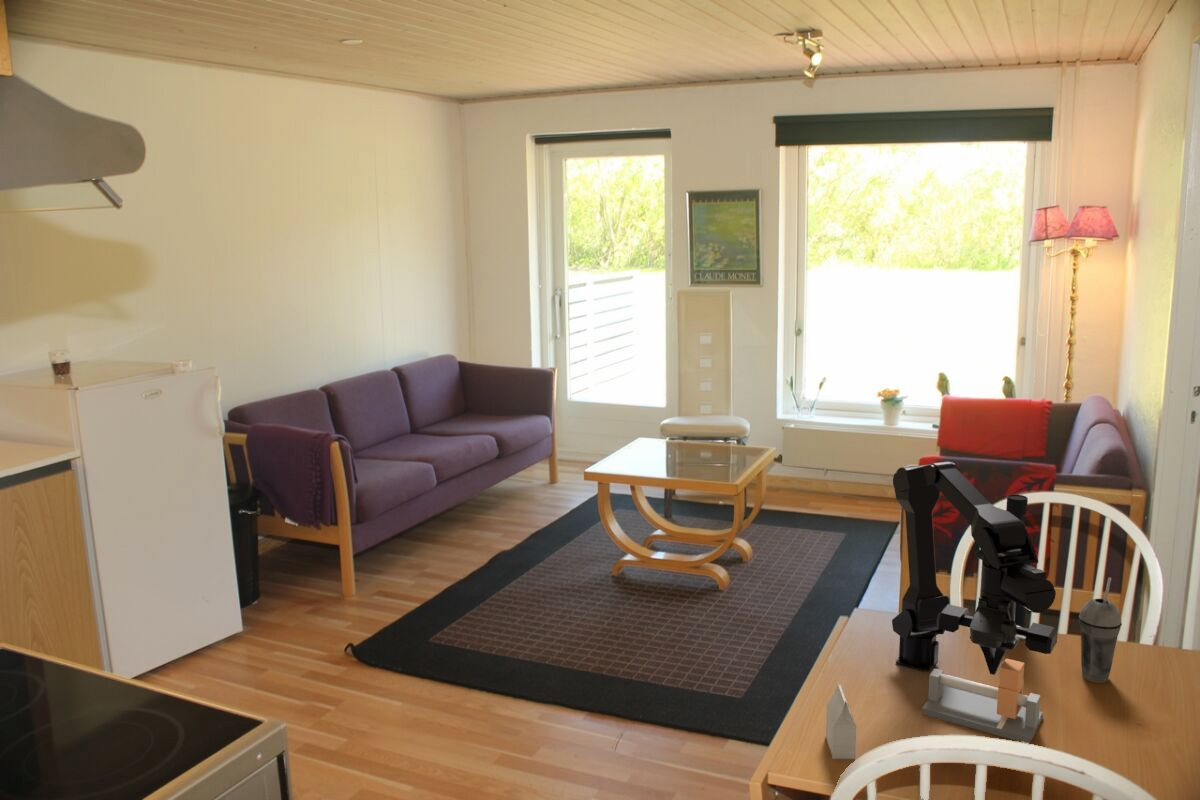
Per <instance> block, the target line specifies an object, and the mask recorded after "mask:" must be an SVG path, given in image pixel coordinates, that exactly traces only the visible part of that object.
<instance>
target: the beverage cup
mask: <svg viewBox="0 0 1200 800" xmlns="http://www.w3.org/2000/svg"><path fill="white" fill-rule="evenodd" d="M1111 582H1112V577H1110V576H1109V577H1108V578H1107V582H1106V588H1105V592H1104V596H1103V598H1093V599H1090V600H1089V601H1087V602H1085V603H1084V605H1083V606H1082V607H1081V608H1080V611H1079V615H1078V620H1079V627H1080V653H1081V655H1080V661H1081V676H1082V677H1083V679H1085V680H1087V681H1089V682H1092V683H1097V682H1101V683H1106V681H1107V682H1108V681H1109V678H1110V674H1111V670H1112V665H1113V661H1114V660H1113V659H1114V655H1115V651H1116V645H1117V641H1118V635H1119V634H1120V630H1121V627H1122V617H1121V613H1120V610H1119V608H1118V607H1117V606H1116V605H1115V604H1114V603H1113V602H1112V601H1109V600H1108V596H1109V592H1110V587H1111ZM1101 683H1100V684H1101Z"/></svg>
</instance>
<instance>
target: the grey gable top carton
mask: <svg viewBox="0 0 1200 800" xmlns="http://www.w3.org/2000/svg"><path fill="white" fill-rule="evenodd" d="M836 684H837V685H836V687H835V690H834V692H833V694H832V695H831V697H830V699H829V700H828V702H827V704H826V713H825V715H826V717H825V719H826V721H825V724H826V725H825V738H826V741H827V744H828V747H829V751H830V755H831V758H832V760H856V752H857V751H856V749H857V747H856V746H857V725H856V722H855V719H854V716H853V713H852V711H851V708H850V706H849V703H848V701H847V699H846V697H845V694H844V691H843V688H842V685H841V684H839V683H836Z"/></svg>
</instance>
